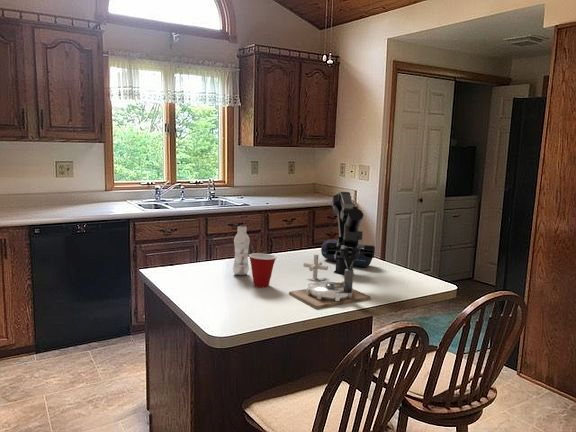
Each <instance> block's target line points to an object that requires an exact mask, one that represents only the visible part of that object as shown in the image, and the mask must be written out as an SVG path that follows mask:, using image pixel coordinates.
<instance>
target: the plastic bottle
mask: <svg viewBox="0 0 576 432" xmlns="http://www.w3.org/2000/svg"><path fill="white" fill-rule="evenodd" d="M247 229H248V228H247V226H246V225H239V226H237V232H236V234H235V236H234V238H233V242H234V243H233V245H234V260H233V266H232V273H233V274H234V275H235V276H236V275H237V276H245V275H247V274H248V273H249V270H250V269H249V267H250V266H249V258H248V257H249V246H250V240H251V239H250V236H249V235H248V234H247V231H248V230H247Z"/></svg>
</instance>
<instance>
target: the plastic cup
mask: <svg viewBox="0 0 576 432" xmlns="http://www.w3.org/2000/svg"><path fill="white" fill-rule="evenodd" d="M248 257H249V260H250V267H251V275H252V276H251V277H252V282H253V286H254V287H257V288H267V287H269V285H270V282H271V278H272V274H273V269H274V264H275V261H276V259H277V256H276V255H274V254H270V253H259V252H258V253H257V252H256V253H255V252H254V253H250V254H249V253H248Z"/></svg>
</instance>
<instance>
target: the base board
mask: <svg viewBox="0 0 576 432" xmlns="http://www.w3.org/2000/svg"><path fill="white" fill-rule="evenodd" d="M340 283H342V284H344V280H343V281H341V282H340ZM288 295H289V296H290V297H291V296H292V297H293V298H295V299H297V300H299V301H301V302H302V303H304V304H306V305H308V306H309V305H310V306H309V307H312V309H315V310H317V309H318V310H319V309H323V308H328V307H335V306H340V305H345V304H346V305H347V304H352V303H358V302H361V301H362V302H363V301H367V300H368V301H369V300H371V296H370V295H369V294H368V295H367V294H365V293H364V292H361V291H359V290H356V289H354V288H353V289H352V298H348V299H344V300H340V301H335V300H323V299H321V300H320V299H317V298H315V297H313V296H311V295H308V294H307V288H304V289H297V290H291V291H289V292H288Z"/></svg>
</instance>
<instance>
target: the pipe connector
mask: <svg viewBox="0 0 576 432" xmlns="http://www.w3.org/2000/svg"><path fill="white" fill-rule="evenodd" d="M303 268H308V270H309V271H310V272H312V279H313V280H317V279H318V271H319V270H320V271H321V270H323V271H328V269H329V267H328V265H323V262H322V261H319V254H318V253H314V254H313V263H311V262H303Z"/></svg>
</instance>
